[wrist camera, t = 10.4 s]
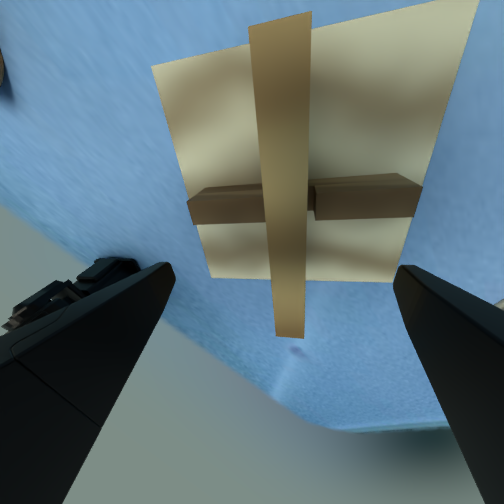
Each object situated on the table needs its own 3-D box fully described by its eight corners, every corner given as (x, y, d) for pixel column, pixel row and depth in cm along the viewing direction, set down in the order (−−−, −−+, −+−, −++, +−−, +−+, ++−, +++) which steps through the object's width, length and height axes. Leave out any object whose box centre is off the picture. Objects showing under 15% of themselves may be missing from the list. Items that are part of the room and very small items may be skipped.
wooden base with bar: (388, 276, 22) (409, 312, 18) (214, 272, 26) (198, 301, 22) (469, -2, 12) (565, -68, 7) (158, 68, 16) (110, 51, 12)
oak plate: (301, 264, 22) (304, 338, 15) (283, 264, 22) (276, 336, 15) (303, 69, 14) (311, 11, 6) (273, 75, 14) (248, 26, 7)
